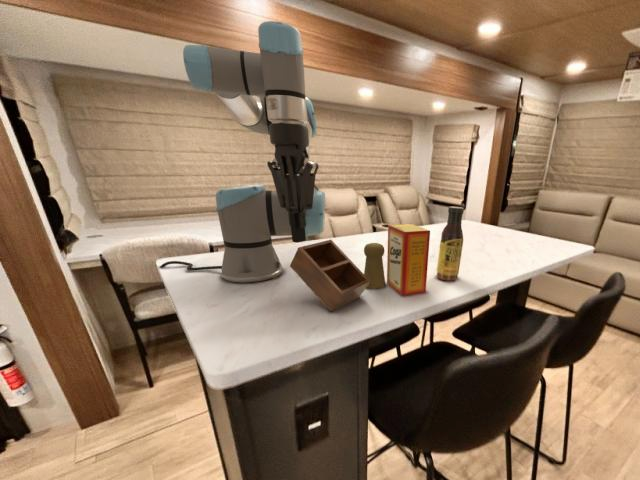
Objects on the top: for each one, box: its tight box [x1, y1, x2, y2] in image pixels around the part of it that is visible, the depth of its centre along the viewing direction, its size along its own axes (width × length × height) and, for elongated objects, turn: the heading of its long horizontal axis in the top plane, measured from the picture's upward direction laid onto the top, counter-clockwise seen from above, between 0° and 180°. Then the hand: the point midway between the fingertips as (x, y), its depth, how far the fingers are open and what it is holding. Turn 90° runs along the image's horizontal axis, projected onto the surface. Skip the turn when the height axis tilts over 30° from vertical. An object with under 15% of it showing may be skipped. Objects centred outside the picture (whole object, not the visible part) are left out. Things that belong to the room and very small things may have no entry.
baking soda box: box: [386, 223, 431, 297], centre depth 78 cm, size 10×6×16 cm
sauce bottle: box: [436, 206, 465, 282], centre depth 85 cm, size 6×6×20 cm
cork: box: [363, 242, 386, 290], centre depth 80 cm, size 6×6×11 cm
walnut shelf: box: [289, 239, 370, 312], centre depth 69 cm, size 14×10×6 cm
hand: (299, 241), depth 71 cm, fingers closed
